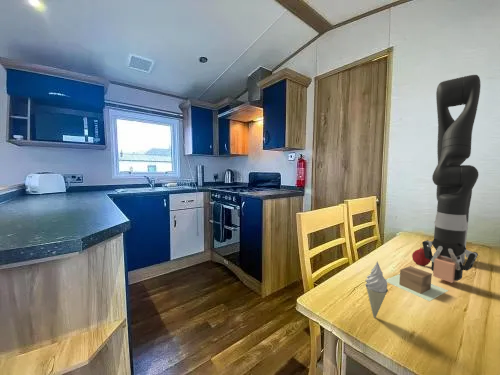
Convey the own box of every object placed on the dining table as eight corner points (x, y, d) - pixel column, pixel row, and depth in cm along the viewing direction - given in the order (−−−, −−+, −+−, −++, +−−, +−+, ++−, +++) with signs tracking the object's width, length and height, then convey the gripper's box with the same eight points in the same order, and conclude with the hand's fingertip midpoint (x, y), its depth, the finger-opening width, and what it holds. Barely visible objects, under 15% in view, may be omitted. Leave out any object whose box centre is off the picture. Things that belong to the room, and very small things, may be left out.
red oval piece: (433, 270, 83) (435, 250, 83) (416, 269, 85) (417, 249, 84) (424, 264, 89) (426, 245, 88) (408, 262, 90) (410, 244, 90)
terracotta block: (439, 272, 76) (441, 256, 76) (458, 279, 72) (460, 261, 71) (433, 276, 74) (434, 259, 73) (452, 282, 69) (453, 264, 69)
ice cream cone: (359, 311, 59) (362, 257, 57) (377, 310, 59) (380, 257, 58) (371, 324, 54) (375, 266, 52) (390, 323, 54) (394, 265, 53)
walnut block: (409, 280, 73) (410, 266, 73) (430, 289, 68) (431, 273, 68) (399, 284, 71) (400, 269, 70) (420, 293, 65) (422, 277, 65)
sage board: (402, 275, 79) (402, 272, 79) (448, 294, 68) (448, 290, 67) (383, 283, 73) (383, 280, 73) (429, 305, 62) (429, 301, 62)
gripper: (485, 230, 67) (479, 283, 68) (429, 220, 79) (425, 265, 81) (475, 234, 63) (470, 289, 65) (418, 223, 76) (415, 269, 77)
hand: (445, 275), depth 73 cm, fingers closed on terracotta block, 5 cm apart
